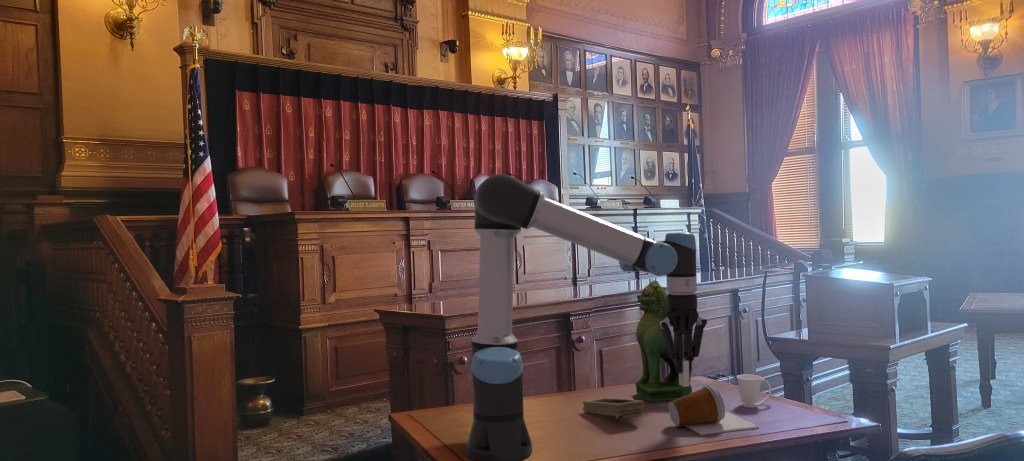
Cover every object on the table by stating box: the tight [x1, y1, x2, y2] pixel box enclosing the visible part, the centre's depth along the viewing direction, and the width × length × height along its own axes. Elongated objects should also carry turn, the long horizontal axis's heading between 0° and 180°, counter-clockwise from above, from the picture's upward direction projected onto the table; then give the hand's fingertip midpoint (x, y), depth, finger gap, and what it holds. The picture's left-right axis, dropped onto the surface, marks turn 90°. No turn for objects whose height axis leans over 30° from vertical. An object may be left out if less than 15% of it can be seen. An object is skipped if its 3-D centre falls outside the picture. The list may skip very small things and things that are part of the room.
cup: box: [736, 373, 773, 408], centre depth 202 cm, size 7×10×8 cm
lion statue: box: [634, 279, 693, 404], centre depth 214 cm, size 14×17×35 cm
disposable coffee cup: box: [668, 385, 726, 427], centre depth 183 cm, size 10×10×12 cm
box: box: [582, 397, 644, 421], centre depth 194 cm, size 8×22×5 cm, turn 25°
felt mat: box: [684, 410, 759, 436], centre depth 186 cm, size 16×16×1 cm
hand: (684, 385), depth 183 cm, fingers closed
